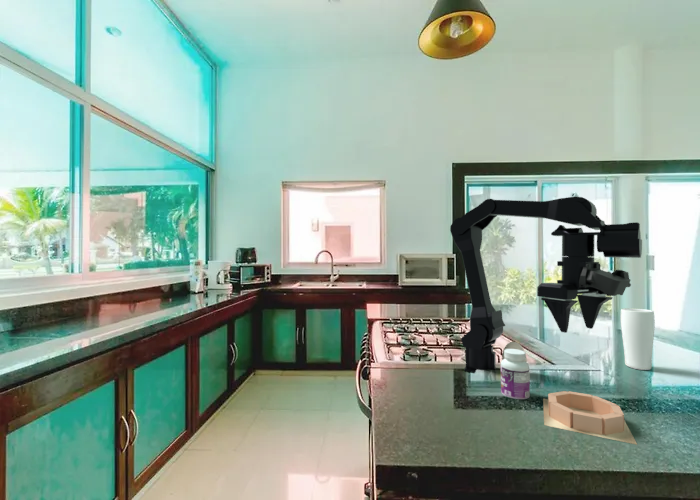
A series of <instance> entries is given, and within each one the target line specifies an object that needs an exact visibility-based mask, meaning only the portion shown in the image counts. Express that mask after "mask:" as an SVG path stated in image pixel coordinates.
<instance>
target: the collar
mask: <svg viewBox="0 0 700 500" xmlns="http://www.w3.org/2000/svg"><path fill="white" fill-rule="evenodd" d="M547 395H548V397H547V399H548V408H549V416H550V417H551V418H553V419H555V420H557V421H558V422H560V423H562V424H564V425H566V426H568V427H569V428H572V427H573V429H576V430H581V431H586V432H590V433H595V434H600V435H602V434H604V435H609V434H614V433H619V432H623V431H624V420H625V414H624V412H623V411H622V409H621V407H620V405H618V404H616V403H613V402H611V401H610V400H607V399H604V398H601V397H599V396H597V395H593V394H589V393H582V392H575V391H570V390H567V391H566V390H562V391H556V392H549V393H548V394H547ZM568 407H572V408H578V409H583V410H589V411H593V412H595V413H597V414H599V415H594V414H589V413H583V412H578V411H574V410H571V409H569V408H568Z"/></svg>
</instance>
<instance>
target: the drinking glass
mask: <svg viewBox="0 0 700 500" xmlns="http://www.w3.org/2000/svg"><path fill="white" fill-rule="evenodd" d="M655 324H656V323H655V311H654V310H650V309H644V308H632V307H631V308H630V307H623V308H621V309H620V327H621V328H620V329H621V336H622V344H623V353H624V364H625V365H626V366H627V367H629V368H631V369H635V370H639V371H641V370H642V371H649V370H652V368H653V363H652V361H653V360H652V359H653V350H654V349H653V348H654V340H655V339H654V337H655V328H656V327H655V326H656V325H655Z"/></svg>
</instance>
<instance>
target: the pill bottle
mask: <svg viewBox="0 0 700 500" xmlns="http://www.w3.org/2000/svg"><path fill="white" fill-rule="evenodd" d="M503 350H504V349H503ZM524 351H525V350H524ZM524 351H522V350H518V349H505V350H504V357H505V358H506V359H503V360H502V359H501V362H500V392H501V394H502V395H503V396H505V397H508V398H510V399H515V400H516V399H517V400H526V399H529V398H530V396H531V395H530V394H531V393H530V389H531V388H530V387H531V386H530V385H531V384H530V383H531V382H530V380H531V379H530V378H531V377H530V376H531V375H530V374H531V373H530V372H531V371H530V365H529V363H528V362H525V361H524V360H525V359H526V358H527V355H526V354H527V353H526V351H525V352H524Z"/></svg>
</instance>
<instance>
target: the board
mask: <svg viewBox="0 0 700 500" xmlns="http://www.w3.org/2000/svg"><path fill="white" fill-rule="evenodd" d="M542 402H543V423H544V424H543V426H546V427H551V428H555V429H561V430H565V431H570V432H575V433H580V434H584V435H589V436H593V437H597V438H598V437H599V438H603V439H608V440H613V441H617V442H621V443H622V442H623V443H625V444H626V443H627V444H631V445H637V446H638V443H637V441H636V440H635V437H634V436H633V434H632V431H631V429H630V428H629V426H628V424H627V422H626V420H625V419H624V431H623V432H619V433H614V434H609V435H604V434H602V435H600V434H595V433H590V432H586V431H581V430H576V429H573V427H572V428H569V427H568V426H566V425H564V424H562V423H560V422H558V421H557V420H555V419H553V418H551V417H550V416H549V408H548V398H542ZM568 408H569V409H571V410H574V411H578V412H583V413H589V414H594V415H599V414H597V413H595V412H593V411H589V410H583V409H578V408H572V407H568Z"/></svg>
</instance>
